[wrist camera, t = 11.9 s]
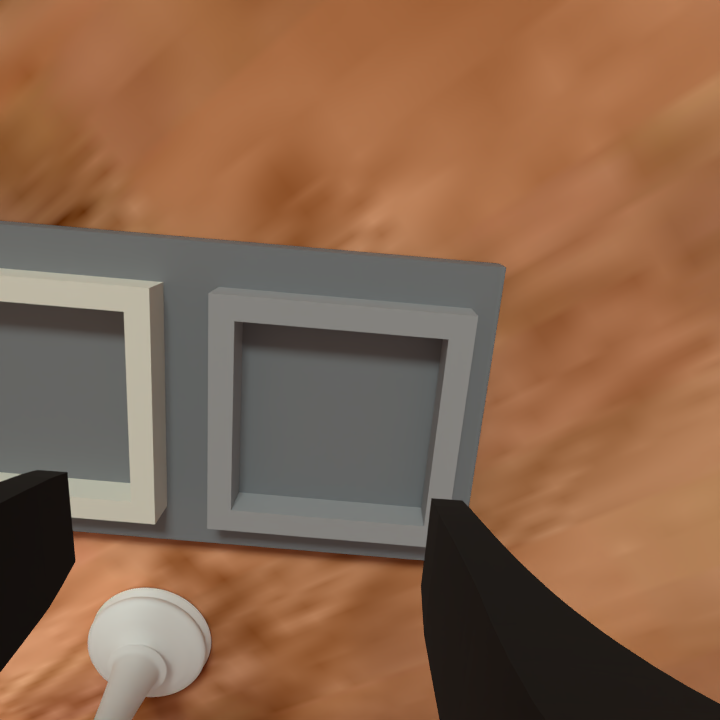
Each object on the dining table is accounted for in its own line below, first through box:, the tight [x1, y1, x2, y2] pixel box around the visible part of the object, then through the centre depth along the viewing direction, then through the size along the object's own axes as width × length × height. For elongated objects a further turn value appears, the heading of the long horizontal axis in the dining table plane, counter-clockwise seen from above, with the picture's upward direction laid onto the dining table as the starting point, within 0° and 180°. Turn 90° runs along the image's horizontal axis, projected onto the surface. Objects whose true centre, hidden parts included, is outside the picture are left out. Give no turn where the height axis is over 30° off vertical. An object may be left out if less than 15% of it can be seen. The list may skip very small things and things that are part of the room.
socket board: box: [0, 221, 506, 560], centre depth 19 cm, size 11×20×2 cm, turn 85°
